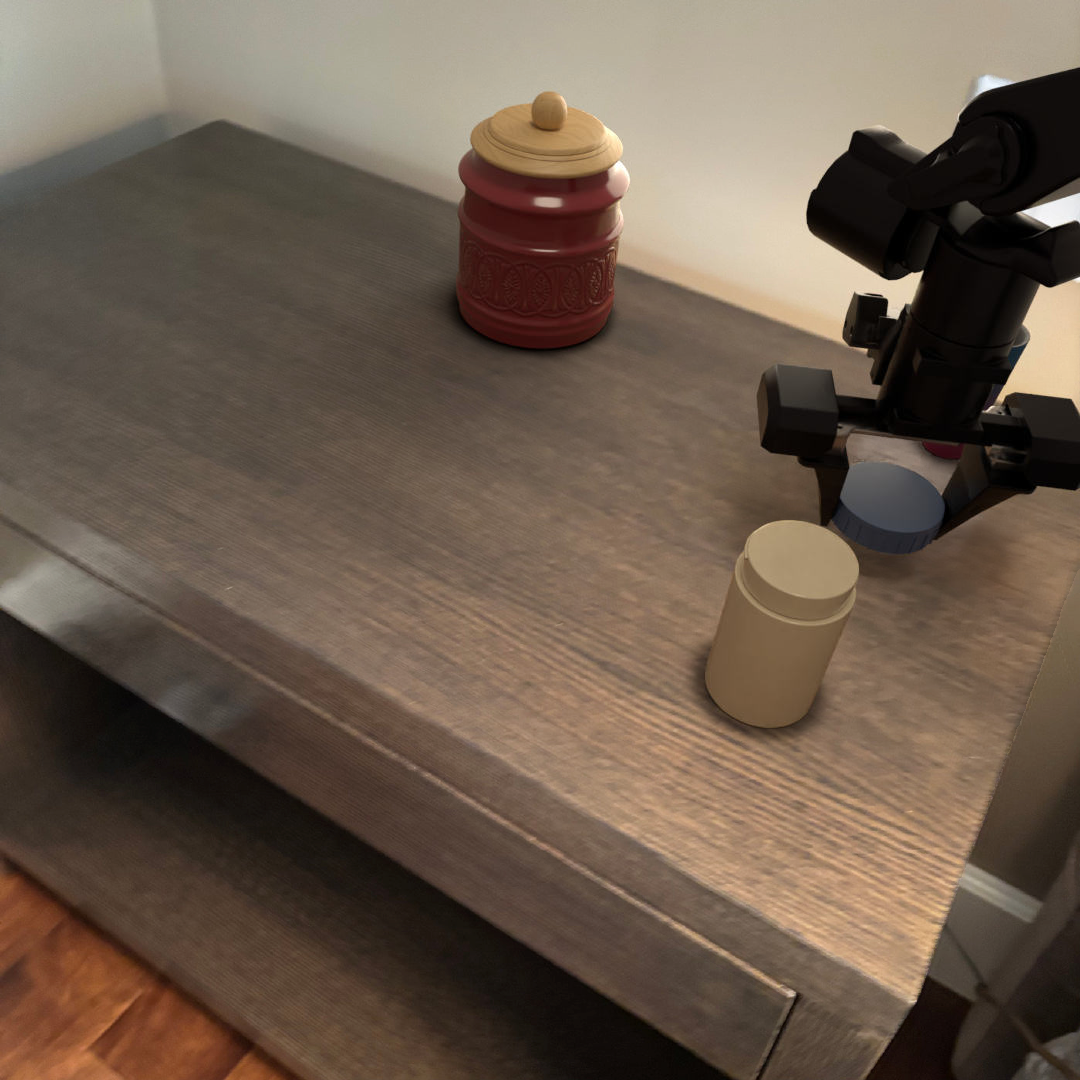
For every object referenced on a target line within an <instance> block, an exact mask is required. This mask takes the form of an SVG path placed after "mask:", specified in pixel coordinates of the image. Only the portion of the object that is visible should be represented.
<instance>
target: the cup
mask: <svg viewBox="0 0 1080 1080" xmlns="http://www.w3.org/2000/svg"><path fill="white" fill-rule="evenodd" d="M1030 340H1031V333H1030V331H1029V329H1028V328H1027V327H1026V326H1025V325H1024V323H1022V326H1021V328H1020V330H1019V332H1018V334H1017V337H1016V339H1015V341H1014V343H1013V345H1012V348H1011V350H1010V352H1009V354H1008V356H1007V357H1008V360H1009V362H1010V365H1011V367H1012V369H1013V370H1012V372H1011V374H1012V373H1013V371H1014V369H1015V367H1016V366H1017V364H1018V362H1019V360H1020V358H1021V356H1022V355H1023V353H1024V351H1025V349H1026V347H1027V345H1028V344H1029V342H1030ZM1004 387H1005V385H999V384H995V385H994V387H993V389H992V391H991V393H990V396H989V398H988V400H987V402H986V404H985V406H984V409H983V411H987V410H988V409H989V408H990V407H991V406H995V403H996V401H998V398H999V396H1000V394H1001V393H1002V391H1003V389H1004ZM921 443H922V446H923V447H924V448H925V449H926V450H927V451H928V452H930V453H931V454H933V455H935V456H937V457H940V458H943V459H947V460H956V459H957V460H958V459H961V456H962V452H963V447H964V444H962V443H961V445H960V446H953V445H945V444H937V443H929V442H921Z"/></svg>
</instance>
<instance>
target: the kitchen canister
mask: <svg viewBox="0 0 1080 1080" xmlns="http://www.w3.org/2000/svg"><path fill="white" fill-rule="evenodd" d="M469 141H470V145H471V147H472V148H470V149H469V150H468V151H466V152H465V154H463V156H461V158H460V161H459V163H458V166H457V172H458V173H457V174H458V177H459V179H460V181H461V184H463V186H464V194H463V196H462V197H461V199H460V201H459V203H458V205H457V216H458V220H459V238H458V270H457V273H456V276H455V277H456V278H455V284H456V286H455V293H456V298H457V301H458V307H459V312H460V314H461V316H462V318H463V319H464V321H466V323H467V324H468V325H469V326H470V327H472V329H474V330H476V331H477V332H478V333H480V334H481V335H484V336H485V337H487V338H490V339H491V340H494V341H496V342H499V343H503V344H506V345H509V346H515V347H520V348H527V349H556V348H557V349H558V348H562V347H563V348H565V347H568V346H573V345H576V344H579V343H583V342H584V341H586V340H589V339H591V338H592V337H594V336H595V335H597V334H598V333H599V332H600V331H601V330H602V329H603V328H604V327H605V325H606V323H607V321H608V319H609V315H610V313H611V311H612V309H613V305H614V298H615V292H616V290H615V283H614V282H615V276H616V268H617V261H618V260H617V259H618V254H619V247H620V239H621V234H622V233H623V231H624V226H625V217H624V214H623V212H622V210H621V200H622V199H623V198H624V197H625V195H626V194H627V193H628V191H629V188H630V185H631V184H630V183H631V178H630V174H629V171H628V170H627V168H626V167H625V165H623V163H622V162H621V161H620V160H621V158H622V156H623V152H624V147H623V143H622V141H621V139H620V138H619V137H618V135H616V133H615V132H613V131H612V130H611V129H609V128H608V127H607V126H605V125H604V123H603V122H602V121H601V120H600V119H598V118H597V117H596V116H594V115H593V114H590V113H588V112H586V111H584V110H582V109H579V108H575V107H571V106H567V102H566V100H565V98H564V97H563V96H562V95H561V94H560V93H558V92H555V91H553V90H552V91H551V90H547V91H543V92H540V93H539V94H537V96H535V98H534V100H533V102H531V103H530V102H529V103H520V104H515V105H511V106H508V107H504V108H502V109H500V110H498V111H496V113H494V114H493V115H492V116H490V117H487V118H485V119H484V120H482V121H480V122H478V123H477V125H475V126H474V127H473V128H472V130H471V132H470V136H469Z"/></svg>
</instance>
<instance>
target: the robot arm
mask: <svg viewBox="0 0 1080 1080" xmlns="http://www.w3.org/2000/svg"><path fill="white" fill-rule="evenodd" d="M1077 194H1080V66H1079V67H1078V66H1077V67H1074V68H1069V69H1065V70H1062V71H1058V72H1054V73H1050V74H1046V75H1041V76H1038V77H1034V78H1030V79H1026V80H1022V81H1017V82H1014V83H1010V84H1005V85H1002V86H1001V85H1000V86H997V87H994V88H990V89H988V90H985V91H982V92H980V93H979V94H978V95H976V96H974V97H973V98H972V99H970V100H969V101H968V102H966V104H965V105H964V106H963V107H962V109H961V110H959V112H958V114H957V122H956V125H955V127H954V129H953V131H952V135H951V136H950V137H948V138H947V139H946V140H945V141H943V142H941V144H939V145H938V146H937V147H935V148H934V149H933V150H932V151H930V152H929V153H928V152H926V151H923V150H922V149H920V148H918V147H916V146H914V145H912V144H911V143H908V142H906V141H905V140H903V139H902V138H901V137H900V136H899V135H898V134H897V133H896V132H894V131H893V130H891V129H888V128H887V127H884V126H882V125H880V124H877V125H874V126H869V127H864V128H860V129H856V130H854V131H853V132H852V135H851V138H850V141H849V144H848V148H847V150H845V151H844V152H843V153H842V154H840V156H838V157H837V158H836V159H834V160H833V162H832V164H831V165H830V166H829V167H828V168H827V169H826V171H825V172H824V174H823V175H822V177H821V178H820V180H819V181H818V183H817V186H816V187H815V188H814V189H812V190H811V192H810V195H809V198H808V200H807V206H806V210H805V211H806V212H805V218H806V219H805V220H806V225H807V228H808V231H809V232H810V233H811V234H812V236H814V237H815V238H817V239H819V240H820V241H821V242H823V243H825V244H827V245H829V246H830V247H831V248H833V249H835V250H836V251H838V252H840V253H841V254H843V255H844V256H846V257H847V258H849V259H851V260H853V261H854V262H856V263H858V264H859V265H861V266H862V267H864V268H865V269H867V270H869V271H871V272H872V273H874V274H875V275H877V276H879V277H880V278H882V279H884V280H886V281H898V280H902V279H904V278H905V277H908V276H910V275H911V274H918V273H921V276H920V278H919V282H918V284H917V287H916V290H915V293H914V296H913V298H912V301H911V303H908V302H907V303H904V306H903V307H895V306H890V305H889V299H888V298H886V297H885V296H884V295H883V294H881V293H874V292H866V291H857V290H854V291H853V294H852V297H851V299H850V302H849V305H848V308H847V310H846V314H845V318H844V322H843V327H842V331H841V333H842V335H841V337H842V340H843V342H845V343H846V345H847V346H848V347H849V348H855V349H857V348H858V349H866V350H867V351H866V357H867V358H868V359H873V363H872V366H871V368H870V371H869V376H870V381H871V384H872V385H873V386H880V388H879V391H878V393H877V397H876V398H869V397H861V396H852V395H844V394H837V393H836V387H835V381H834V375H833V370H832V369H829V368H820V367H812V366H804V365H797V364H787V363H779V362H775V363H774V364H773V365H771V366H770V367H769V368H768V369H766V370H765V371H764V372H763V373H762V374H761V378H760V382H759V385H758V388H757V392H756V406H757V418H758V428H759V429H758V432H759V444H760V447H761V448H763V450H766V451H767V452H769V453H770V454H775V455H781V456H782V455H783V456H790V457H791V456H792V457H796V460H797V463H798V464H799V465H800V466H802V467H804V468H807V469H813V470H814V472H815V477H816V480H817V500H818V515H819V523H820V526H821V527H824V528H825V527H828V526H829V524H830V522H831V521H832V518H833V516H834V513H835V510H836V507H837V504H838V501H839V498H840V495H841V492H842V489H843V486H844V483H845V480H846V477H847V474H848V471H849V468H850V466H851V465H850V461H849V456H848V451H847V450H848V449H847V442H848V439H849V437H850V436H851V435H852V434H857V435H865V436H873V437H879V438H880V437H881V438H887V439H897V440H905V441H913V442H920V443H922V442H929V443H937V444H945V445H953V446H960V445H961V443H962V444H964V447H963V452H962V456H961V458H959V461H958V463H957V465H956V467H955V469H954V471H953V473H952V475H951V477H950V478H949V480H948V482H947V484H946V485H945V488H944V490H943V492H942V493H941V496H942V498H943V501H944V504H945V513H944V517H943V519H942V524H941V526H940V529H939V531H938V533H937V535H936V537H934V538H933V541H937V540H939V539H941V538H942V537H944V536H945V535H947V534H948V533H950V532H952V531H953V530H955V529H957V528H959V527H960V526H961V525H963V524H965V523H966V522H968V521H969V520H971V519H973V518H974V517H976V516H978V515H979V514H981V513H983V512H986V511H987V510H989V509H991V508H993V507H995V506H997V505H1000V504H1001V503H1003V502H1006V501H1007V500H1010V499H1011V498H1013V497H1015V496H1018V495H1025V496H1029V495H1033V493H1034V492H1035V491H1036V489H1037V488H1038V487H1040V488H1048V489H1049V488H1050V489H1057V490H1065V491H1074V492H1076V491H1078V490H1079V489H1080V411H1079V409H1078V407H1077V406H1076V404H1075V403H1074V401H1073V399H1072V398H1068V397H1060V396H1051V395H1045V394H1043V395H1042V394H1035V393H1028V392H1020V391H1019V392H1018V391H1014V392H1011V393H1008V394H1007V395H1005V396H1004V399H1003V401H1002V403H1001V405H993V406H991V407H990V408H989V409H988V410H987V411H983V409H984V406H985V404H986V402H987V400H988V398H989V396H990V393H991V391H992V389H993V387H994V385H995V384H999V385H1004V386H1006V385H1007V382H1008V380H1009V378H1010V376H1011V375H1012V373H1013V371H1014V369H1012V367H1011V365H1010V362H1009V360H1008V357H1007V356H1008V354H1009V352H1010V350H1011V348H1012V345H1013V343H1014V341H1015V339H1016V337H1017V334H1018V332H1019V330H1020V328H1021V326H1022V324H1024V321H1025V319H1026V317H1027V316H1028V315H1027V314H1028V312H1029V310H1030V307H1031V306H1032V304H1033V301H1034V300H1035V298H1036V295H1037V293H1038V290H1039V289H1040V286H1041V285H1042V286H1043V287H1045V288H1048V289H1052V288H1055V287H1057V286H1060V285H1063V284H1065V283H1068V282H1070V281H1073V280H1076V279H1079V278H1080V221H1078V220H1077V219H1074V220H1070V221H1067V222H1064V223H1061V224H1058V225H1055V226H1050V225H1049V224H1046V223H1044V222H1043V221H1041V220H1039V219H1037V218H1034V217H1033V216H1032V215H1029V214H1027V213H1025V212H1024V211H1027V210H1031V209H1033V208H1036V207H1040V206H1043V205H1046V204H1050V203H1053V202H1056V201H1058V200H1062V199H1066V198H1068V197H1072V196H1074V195H1077ZM1012 370H1013V371H1012ZM1011 372H1012V373H1011Z"/></svg>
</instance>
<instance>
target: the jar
mask: <svg viewBox="0 0 1080 1080" xmlns="http://www.w3.org/2000/svg"><path fill="white" fill-rule="evenodd" d="M731 575H732V576H731V579H730V582H729V586H728V589H727V593H726V595H725V600H724V603H723V606H722V610H721V613H720V617H719V620H718V623H717V627H716V631H715V634H714V637H713V641H712V644H711V648H710V651H709V654H708V657H707V662H706V665H705V669H704V682H705V686H706V689H707V691H708V694H709V695H710V697H711V699H712V700H713V701H714V703H715V704H716V705H717V706H718V707H719V708H720V709H721V710H722V711H723V712H725V713H726V714H727V715H728V716H730V717H732V718H733V719H735V720H737V721H739V722H741V723H743V724H746V725H749V726H753V727H756V728H757V727H758V728H764V729H776V728H778V729H779V728H783V727H787V726H790V725H792V724H796V723H797V722H798V721H800V720H801V719H803V718H804V717H805V716H806V715H807V713H809V711H810V710H811V707H812V705H813V703H814V701H815V698H816V696H817V693H818V692H819V689H820V687H821V684H822V682H823V679H824V676H825V675H826V672H827V669H828V667H829V665H830V662H831V660H832V657H833V655H834V652H835V650H836V649H837V646H838V644H839V641H840V639H841V636H842V634H843V632H844V629H845V627H846V624H847V622H848V620H849V617H850V615H851V613H852V611H853V608H854V605H855V603H856V599H857V587H856V584H857V582H858V580H859V579H858V578H859V575H860V566H859V561H858V558H857V556H856V553H855V552H854V551H853V548H851V546H850V545H849V544H848V543H847V542H846V540H844V539H843V538H841V537H840V536H839V535H837V534H836V533H834V532H833V531H831V530H830V529H827V528H825V527H824V526H821V525H818V524H815V523H812V522H808V521H803V520H794V519H784V520H776V521H771V522H769V523H766V524H763V525H762V526H760V527H759V528H758V529H756V530H753V531H752V532H751V533H750V535H749V536H748V537H747V538H746V542H745V544H744V547H743V551H742V552H741V553H740V555H739V556H738V557H737V560H736V561H735V564H734V568H733V572H732V574H731Z"/></svg>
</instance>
